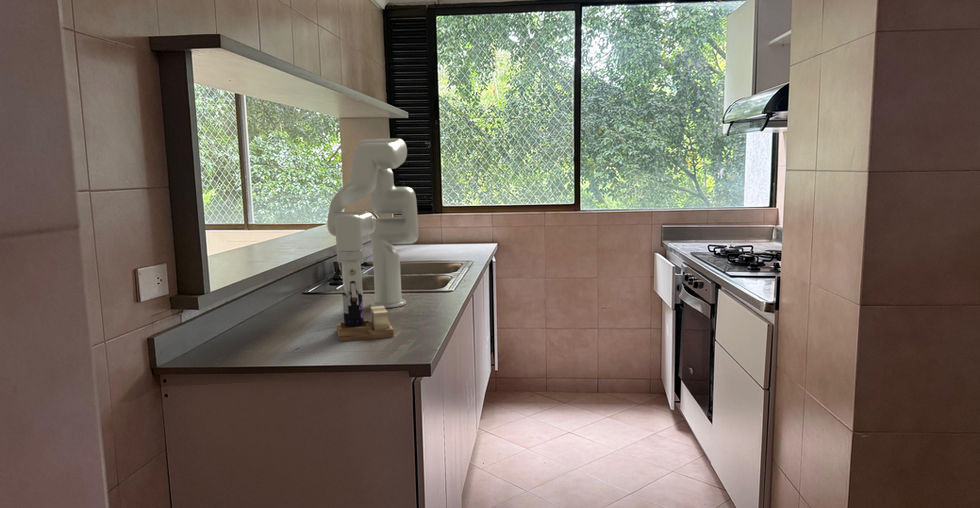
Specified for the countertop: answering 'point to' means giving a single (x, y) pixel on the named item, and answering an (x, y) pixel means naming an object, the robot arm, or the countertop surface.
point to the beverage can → (348, 322)
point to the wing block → (379, 318)
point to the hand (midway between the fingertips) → (353, 315)
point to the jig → (362, 332)
